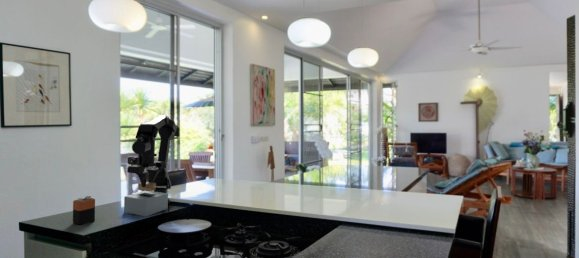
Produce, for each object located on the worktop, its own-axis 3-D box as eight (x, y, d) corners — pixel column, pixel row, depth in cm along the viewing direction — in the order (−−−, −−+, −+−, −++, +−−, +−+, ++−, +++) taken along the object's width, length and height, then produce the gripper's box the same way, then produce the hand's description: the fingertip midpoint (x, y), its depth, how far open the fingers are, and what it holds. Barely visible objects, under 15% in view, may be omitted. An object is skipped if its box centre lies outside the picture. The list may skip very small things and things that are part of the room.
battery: (95, 221, 155) (95, 196, 154) (79, 225, 149) (79, 199, 148) (88, 219, 157) (88, 195, 156) (72, 223, 151) (72, 198, 150)
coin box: (146, 205, 182) (146, 190, 182) (167, 208, 178) (168, 193, 177) (124, 212, 169) (124, 196, 168) (146, 216, 165) (146, 200, 164)
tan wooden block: (144, 188, 176) (144, 181, 175) (155, 189, 174) (155, 183, 173) (138, 189, 172) (138, 183, 172) (149, 191, 170) (149, 184, 170)
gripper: (147, 148, 183) (146, 180, 184) (117, 151, 166) (116, 188, 167) (167, 150, 179) (166, 183, 180) (138, 154, 162) (137, 191, 163)
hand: (147, 186), depth 173 cm, fingers closed on tan wooden block, 4 cm apart
